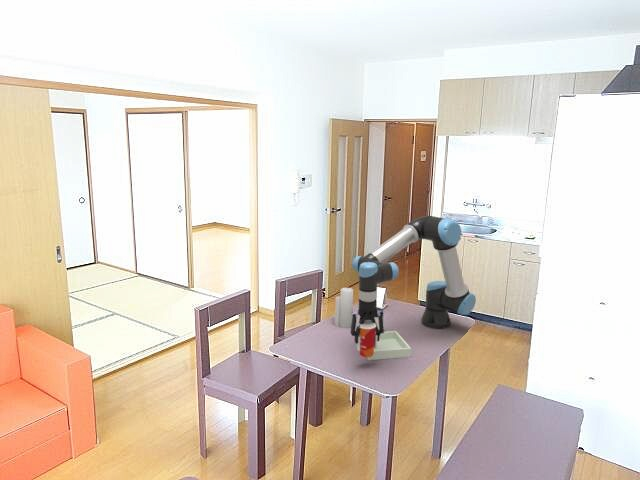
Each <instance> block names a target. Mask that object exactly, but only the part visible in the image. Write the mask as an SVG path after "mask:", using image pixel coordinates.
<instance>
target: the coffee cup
mask: <svg viewBox="0 0 640 480" xmlns="http://www.w3.org/2000/svg"><path fill="white" fill-rule="evenodd" d="M357 322H358V323H356V327H357V326H358V327H359V325H360V334H359V336H360V351H359V355H360V356H361V357H364V358H367V357H371V356H373V353H374V342H375V328H376V324H375V323H373V322H372V321H371V320H366V321H365V322H364V323H363V324H360V323H359V321H357Z"/></svg>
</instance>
